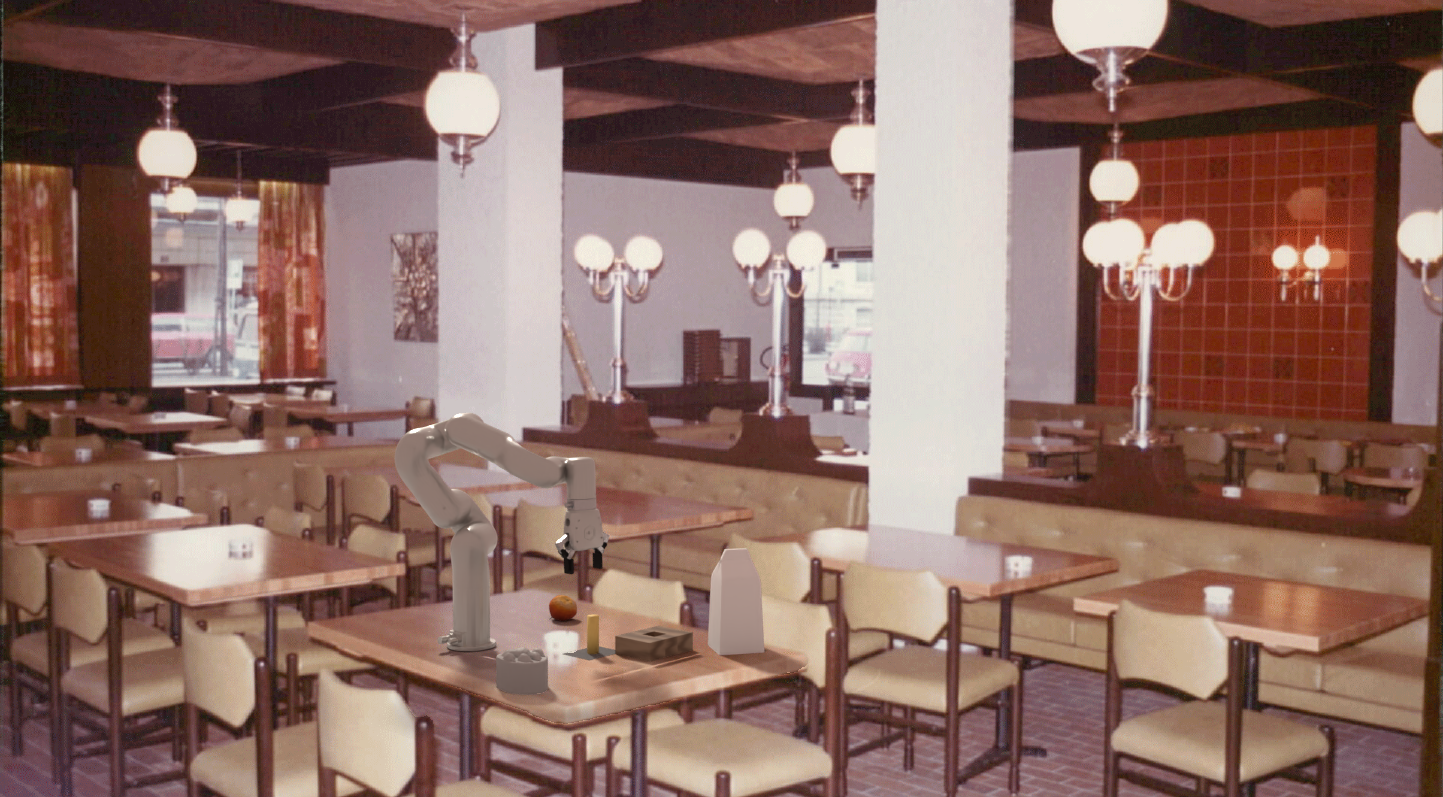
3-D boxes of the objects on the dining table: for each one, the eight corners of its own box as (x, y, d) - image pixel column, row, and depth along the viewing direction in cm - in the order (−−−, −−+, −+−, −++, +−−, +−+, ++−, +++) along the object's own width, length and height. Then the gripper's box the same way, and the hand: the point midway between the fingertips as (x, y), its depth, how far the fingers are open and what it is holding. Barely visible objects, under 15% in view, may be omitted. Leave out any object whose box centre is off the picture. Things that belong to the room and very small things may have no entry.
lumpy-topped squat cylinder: (530, 679, 308) (530, 642, 308) (558, 690, 298) (558, 652, 298) (490, 686, 302) (490, 648, 302) (518, 698, 292) (518, 659, 292)
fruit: (557, 610, 381) (567, 588, 378) (574, 627, 377) (585, 605, 374) (537, 614, 374) (548, 592, 372) (555, 632, 371) (566, 609, 368)
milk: (719, 655, 332) (719, 553, 331) (707, 645, 343) (708, 546, 342) (764, 652, 335) (764, 551, 334) (751, 642, 346) (751, 544, 345)
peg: (592, 654, 330) (592, 617, 330) (584, 652, 332) (584, 615, 332) (601, 652, 333) (601, 615, 332) (593, 650, 335) (593, 614, 334)
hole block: (649, 663, 324) (649, 643, 323) (615, 655, 332) (615, 635, 331) (692, 651, 336) (692, 632, 336) (659, 644, 344) (659, 625, 343)
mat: (589, 661, 325) (589, 660, 325) (562, 655, 331) (562, 653, 331) (623, 653, 334) (623, 651, 334) (596, 647, 340) (596, 645, 340)
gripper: (565, 509, 328) (567, 577, 329) (616, 502, 341) (618, 567, 342) (546, 507, 334) (548, 574, 334) (597, 500, 346) (599, 565, 347)
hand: (583, 571), depth 338 cm, fingers open, 9 cm apart
